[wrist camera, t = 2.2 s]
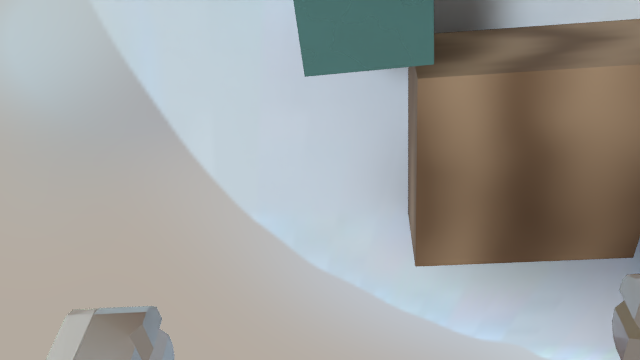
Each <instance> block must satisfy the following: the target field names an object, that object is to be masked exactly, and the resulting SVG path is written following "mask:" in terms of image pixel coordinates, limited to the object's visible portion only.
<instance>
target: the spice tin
mask: <svg viewBox="0 0 640 360" xmlns="http://www.w3.org/2000/svg"><path fill="white" fill-rule="evenodd" d="M293 1H294V7H295V14H296V21H297V27H298V34H299V41H300V47H301V54H302V61H303V68H304V74H305V77H306V76H316V75H327V74H338V73H348V72H359V71H369V70H380V69H391V68H401V67H412V66H422V65H433V64H434V0H293Z"/></svg>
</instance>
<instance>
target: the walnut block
mask: <svg viewBox="0 0 640 360" xmlns="http://www.w3.org/2000/svg"><path fill="white" fill-rule="evenodd" d="M408 215H409V222H410V230H411V237H412V245H413V252H414V259H415V266H439V265H463V264H487V263H512V262H536V261H560V260H584V259H609V258H633V256H634V253H635V250H636V247H637V244H638V240H639V237H640V19H632V20H618V21H604V22H589V23H575V24H561V25H547V26H532V27H518V28H504V29H490V30H475V31H461V32H447V33H434V64H433V65H422V66H412V67H408Z"/></svg>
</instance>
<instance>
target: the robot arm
mask: <svg viewBox="0 0 640 360" xmlns="http://www.w3.org/2000/svg"><path fill="white" fill-rule="evenodd" d="M620 292H621V294H622V296H623V299H624V301H623V302H622V303H620V304H619V305H618V306H617V307H616V308H615V310H614V314H613V319H612V328H613V338H614V342H615V346H616V349H617V352H618V354H619V356H620V359H621V360H640V274H630V275H626V276H625V278H624V279H623V280H622V283H621V287H620ZM161 320H162V318H161V315H160V313H159V311H158V309H157V307H154V306H143V307H118V308H98V309H77V310H72V311H71V312H70V313H69V314H68V315H67V316H66V317H65V319H64V321H63V323H62V325H61V328H60V330H59V332H58V334H57V336H56V338H55V341H54V343H53V345H52V347H51V349H50V352H49V354H48V356H47V358H46V360H174V351H173V345H172V342H171V339H170V337H169V335H168V334H167V333H165V332H164V331H162V330H161V329H159V328H160V324H161Z"/></svg>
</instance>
